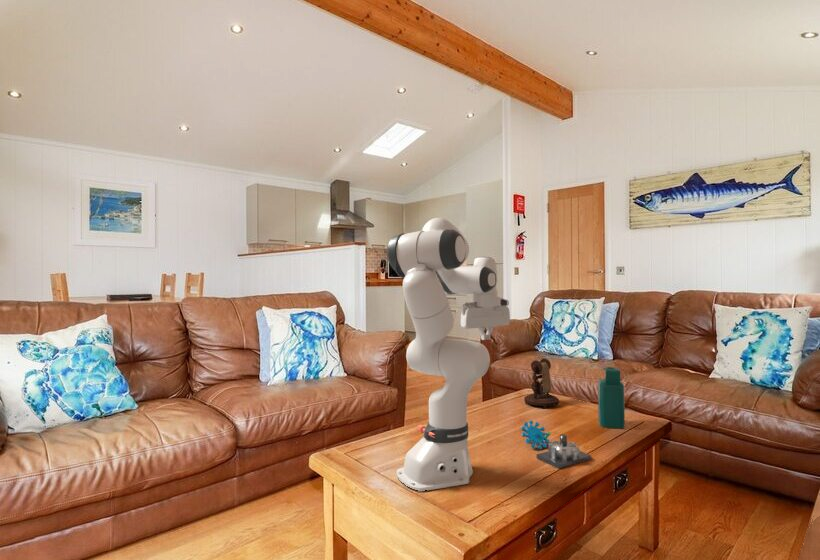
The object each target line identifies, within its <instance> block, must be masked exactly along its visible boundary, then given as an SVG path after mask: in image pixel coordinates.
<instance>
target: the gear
mask: <svg viewBox="0 0 820 560" xmlns="http://www.w3.org/2000/svg"><path fill="white" fill-rule="evenodd" d="M533 424H534V425H533ZM539 426H540V423H539V422H538V421H536V422H535V423H534V421H532V420H529V421H525V422H524V423H523V426H522V427H521V429H520V430H521V431H522V433H521V437H522V438H526V439H525V440H524V442H525V443H526V444H530V443H532V444H530V447H531V448H532V449H535V448H536V446H537V445H538V446H537V450H539V451H540V450H542V449H546V448H547V447H548V443H550V442H551V440H550V439H548V437H550V436H551V435H552V434H551V432H550V431H548V432H545V431H546V428H545V426H541V427H540V428H539Z"/></svg>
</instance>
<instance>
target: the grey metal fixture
mask: <svg viewBox="0 0 820 560" xmlns="http://www.w3.org/2000/svg"><path fill="white" fill-rule="evenodd" d="M567 436H568V435H567V434H560V436H559V440H554V439H553V440H550V442H551V443H550V442H549V443H548V444H547V447H548V451H543V452H541V453H540V452H539V453H537V454H536V459H537V460H539V461H542V462H544V463H546V464H548V465H549V466H551V467H553V468H556V469H558V470H560V469H563V468H567V467H570V466H573V465H577V464H579V463H580V464H581V463H583V462H586V461H590V460H592V455H591V454H589V453H586V452H584V451H581V450H580V446H579V445H576V442H573V441H570V442H569V441H568V437H567Z"/></svg>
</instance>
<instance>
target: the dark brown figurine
mask: <svg viewBox="0 0 820 560" xmlns="http://www.w3.org/2000/svg"><path fill="white" fill-rule="evenodd" d="M551 367H552V365H551V361H550V360H549V359H548V358H541V359H540V360H537V359H536V360H533V361H532V362H531V364H530V368H531V370H532V375H533V376H532V377H531V379H532V380H533V381H532V384H531V390H532V392H533V393H528V394H527V395H525V396H524V399H523V400H524V404H525V405H528V404H530V405H532V406H541V407H543V409H544V410H546V408H547V407H553V406H557V405H559V403H560V400H559V398H558V397H557V396H555V395H553V394H550V392H551V390H552V381H551V375H550V371H551ZM539 379H541V380H540V381H537V380H539Z"/></svg>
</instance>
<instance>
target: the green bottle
mask: <svg viewBox="0 0 820 560" xmlns="http://www.w3.org/2000/svg"><path fill="white" fill-rule="evenodd" d="M602 369H603V371H604V373H605V377H602V378H600V379H598V381H597V415H598V417H597V419H598V423H599V426H600V427H602V426H603V427H602V428H604V427H611V428H610V429H615V428H623V429H624V428H625V427H626V426H625V425H626V423H625V420H626V418H625V416H626V415H625V409H626V408H625V407H626V406H625V405H626V404H625V385H624V383H623V382H622V381H621V370H620V369H619V368H617V367H615V366H614V367H613V366H605V367H603V368H602Z"/></svg>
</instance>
